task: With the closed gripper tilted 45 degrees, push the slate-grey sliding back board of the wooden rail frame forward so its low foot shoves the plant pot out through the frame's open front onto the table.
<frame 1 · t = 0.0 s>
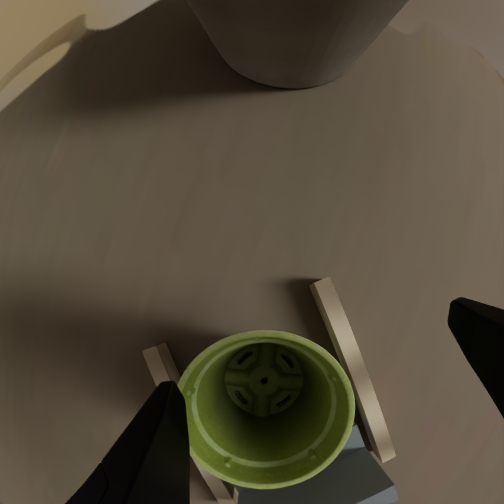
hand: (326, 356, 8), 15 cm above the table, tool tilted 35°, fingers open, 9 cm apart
plant pot 2: (263, 379, 23), on the table
sliding back board: (302, 480, 17), point 5 cm above the table, slide at 0.0 cm
wooden rail frame: (275, 407, 22), on the table
plant pot: (284, 44, 28), on the table
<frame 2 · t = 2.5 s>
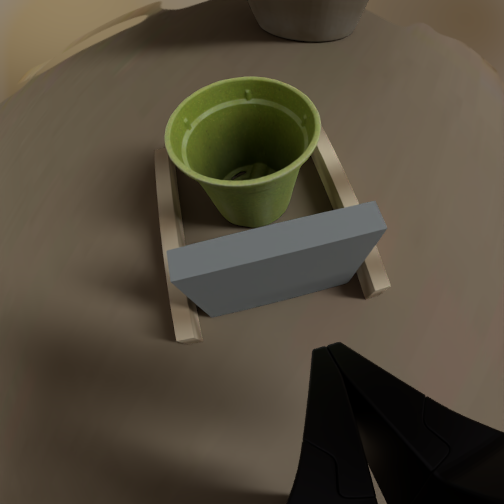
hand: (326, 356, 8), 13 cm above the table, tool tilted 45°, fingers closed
plant pot 2: (252, 197, 25), on the table
sliding back board: (273, 253, 18), point 5 cm above the table, slide at 0.0 cm
wooden rail frame: (259, 222, 24), on the table
plant pot: (304, 22, 37), on the table
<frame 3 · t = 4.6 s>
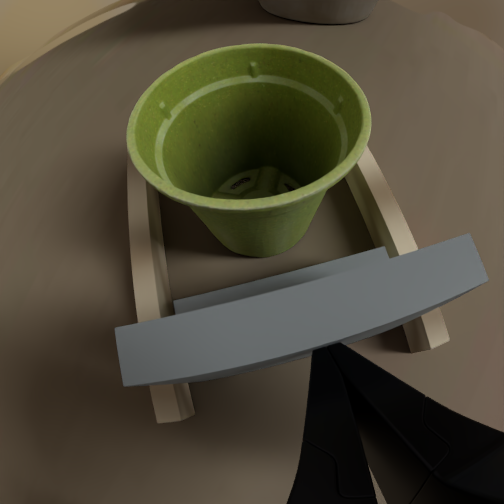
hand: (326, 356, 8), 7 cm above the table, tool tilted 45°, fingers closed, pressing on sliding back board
plant pot 2: (258, 213, 19), on the table
sliding back board: (296, 306, 11), point 5 cm above the table, slide at 0.2 cm, touching gripper
wooden rail frame: (269, 249, 18), on the table
plant pot: (313, 5, 30), on the table
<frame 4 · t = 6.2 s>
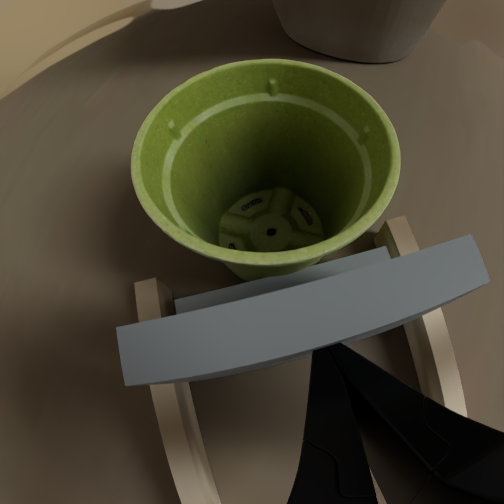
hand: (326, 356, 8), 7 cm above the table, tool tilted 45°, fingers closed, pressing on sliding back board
plant pot 2: (270, 238, 18), on the table, touching sliding back board
sliding back board: (298, 306, 11), point 5 cm above the table, slide at 9.2 cm, touching gripper, plant pot 2
wooden rail frame: (313, 407, 14), on the table
plant pot: (344, 32, 27), on the table
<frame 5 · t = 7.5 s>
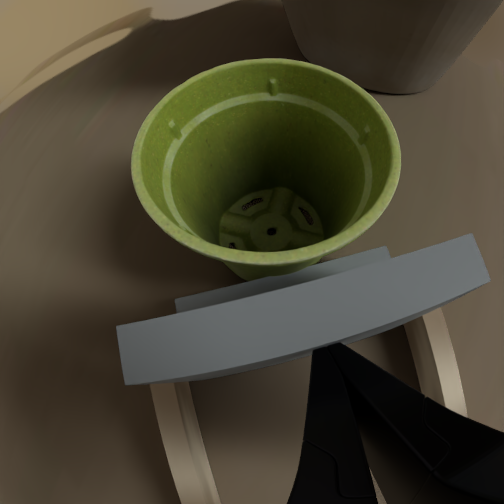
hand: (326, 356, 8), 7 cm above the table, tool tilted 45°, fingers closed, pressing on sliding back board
plant pot 2: (270, 237, 18), on the table, touching sliding back board
sliding back board: (298, 305, 11), point 5 cm above the table, slide at 14.1 cm, touching gripper, plant pot 2
wooden rail frame: (332, 485, 12), on the table
plant pot: (365, 53, 25), on the table
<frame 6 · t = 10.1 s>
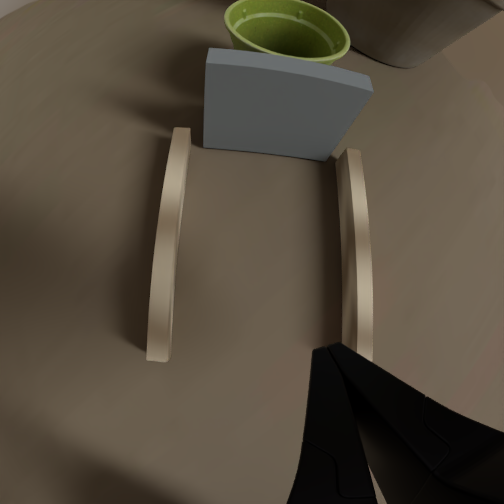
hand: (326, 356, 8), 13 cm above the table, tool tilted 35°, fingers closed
plant pot 2: (267, 95, 26), on the table
sliding back board: (278, 100, 20), point 5 cm above the table, slide at 14.3 cm
wooden rail frame: (263, 248, 22), on the table
plant pot: (372, 34, 32), on the table
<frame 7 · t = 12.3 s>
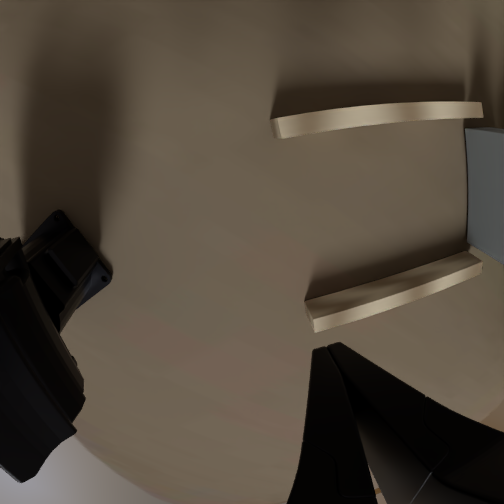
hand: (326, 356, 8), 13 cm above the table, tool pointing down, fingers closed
wooden rail frame: (394, 202, 21), on the table
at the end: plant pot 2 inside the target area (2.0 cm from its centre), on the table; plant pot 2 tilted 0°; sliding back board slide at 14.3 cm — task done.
